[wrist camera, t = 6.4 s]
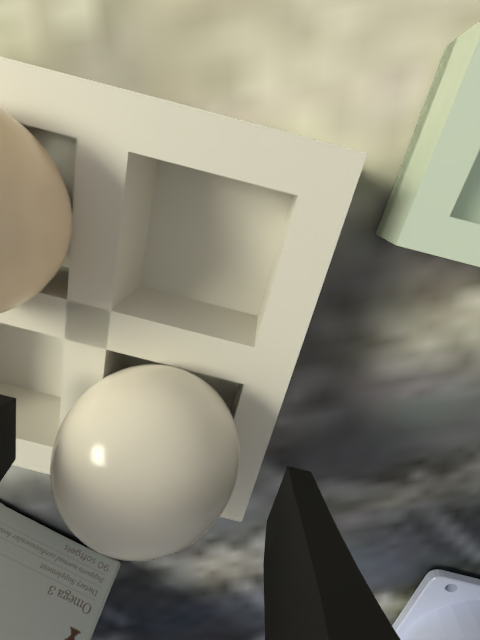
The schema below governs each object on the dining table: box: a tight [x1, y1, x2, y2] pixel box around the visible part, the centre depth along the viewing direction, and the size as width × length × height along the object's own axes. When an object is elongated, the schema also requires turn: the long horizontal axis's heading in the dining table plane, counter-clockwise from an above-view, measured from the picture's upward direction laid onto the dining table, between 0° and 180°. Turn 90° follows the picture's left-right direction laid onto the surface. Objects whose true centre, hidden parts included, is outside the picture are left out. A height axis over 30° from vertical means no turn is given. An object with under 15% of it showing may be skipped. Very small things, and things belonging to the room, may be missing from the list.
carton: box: [0, 57, 367, 522], centre depth 11 cm, size 12×12×3 cm
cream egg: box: [50, 364, 240, 561], centre depth 10 cm, size 5×5×5 cm
